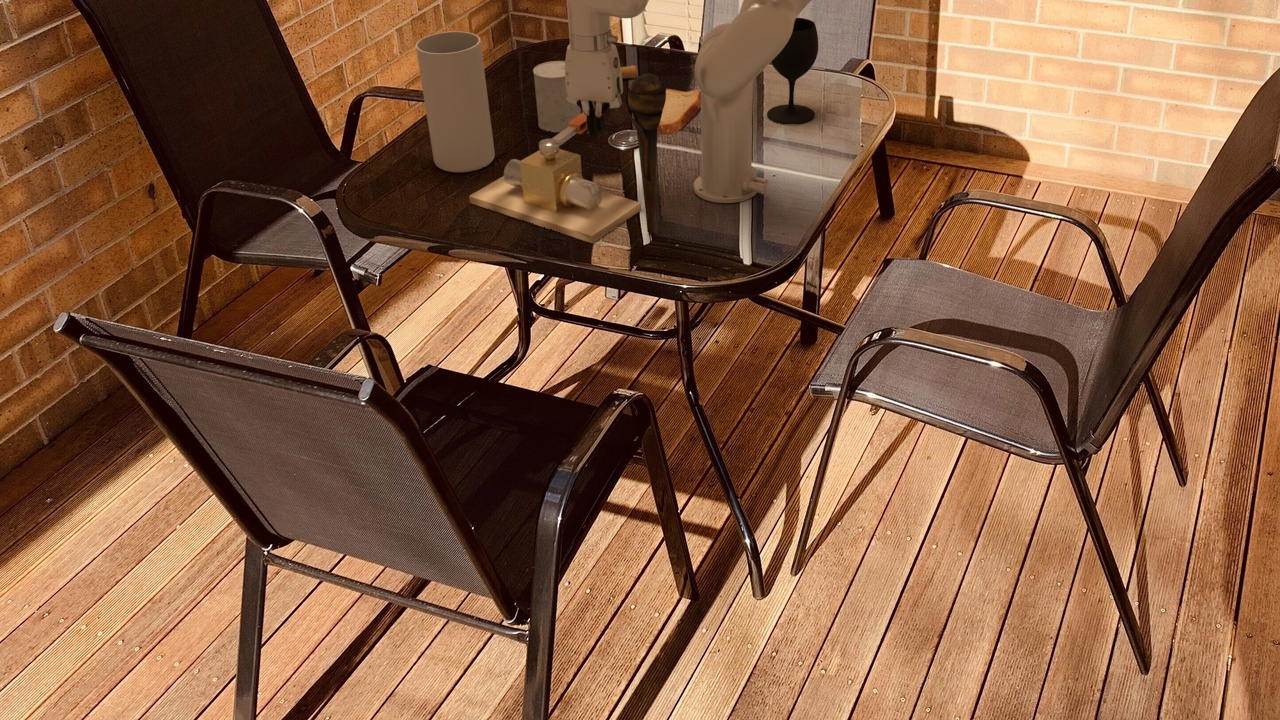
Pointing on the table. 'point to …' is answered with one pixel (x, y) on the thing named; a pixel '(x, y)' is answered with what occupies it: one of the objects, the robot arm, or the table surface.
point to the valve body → (553, 181)
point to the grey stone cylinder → (553, 97)
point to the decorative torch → (647, 132)
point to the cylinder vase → (456, 100)
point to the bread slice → (678, 110)
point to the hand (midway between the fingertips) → (596, 133)
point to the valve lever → (563, 136)
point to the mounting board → (565, 221)
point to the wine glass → (795, 70)
